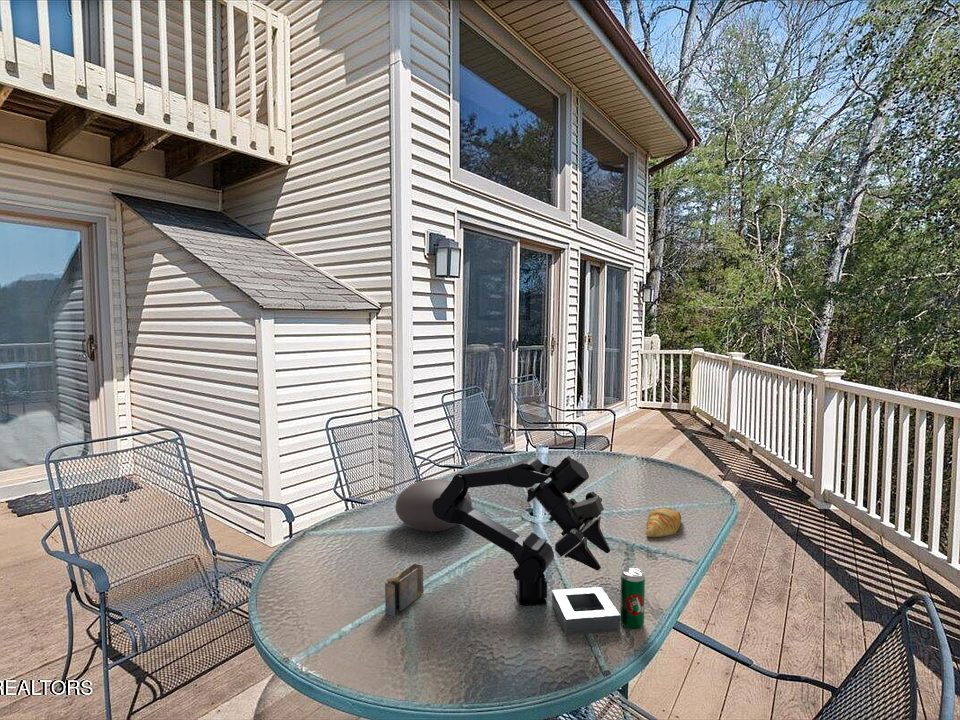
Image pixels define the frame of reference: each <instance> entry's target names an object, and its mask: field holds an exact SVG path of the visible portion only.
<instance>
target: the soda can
mask: <svg viewBox="0 0 960 720" xmlns="http://www.w3.org/2000/svg"><path fill="white" fill-rule="evenodd" d="M621 572H622V573H621V574H620V608H619V609H620V612H619V614H620V624H621V625H622V626H623V627H624V628H626V629H629V630H636V631H637V630H640V629H642V628H643V627H644V625H645V604H646V603H645V598H646V597H645V595H646V594H645V593H646V588H645V587H646V576H645V575H644V571H642V570H641V569H639V568H637V567H630V566H628V567H624V568H623V569H622V571H621Z"/></svg>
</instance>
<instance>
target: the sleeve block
mask: <svg viewBox="0 0 960 720" xmlns="http://www.w3.org/2000/svg"><path fill="white" fill-rule="evenodd" d="M551 605H552V607H553V610H554V612H555V614H556V616H557V619H558V620H559V623H560V625H561V627H562V629H563V631H564V634H565V635H567V636H571V635H581V634H582V635H583V634H594V633H595V634H597V633H608V632H621V621H620V612H619V611H618V609H617V608H616V606H615V605H614V603H613V602H612V601H611V599H610V598H609V596H608V594H607V593H606V592H605V590H604V589H603V587H602V586H594V587H593V586H592V587H581V588H580V587H579V588H577V587H576V588H565V589H551ZM591 608H593V609H595V610H582V611H575V609H579V610H580V609H591Z"/></svg>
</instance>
